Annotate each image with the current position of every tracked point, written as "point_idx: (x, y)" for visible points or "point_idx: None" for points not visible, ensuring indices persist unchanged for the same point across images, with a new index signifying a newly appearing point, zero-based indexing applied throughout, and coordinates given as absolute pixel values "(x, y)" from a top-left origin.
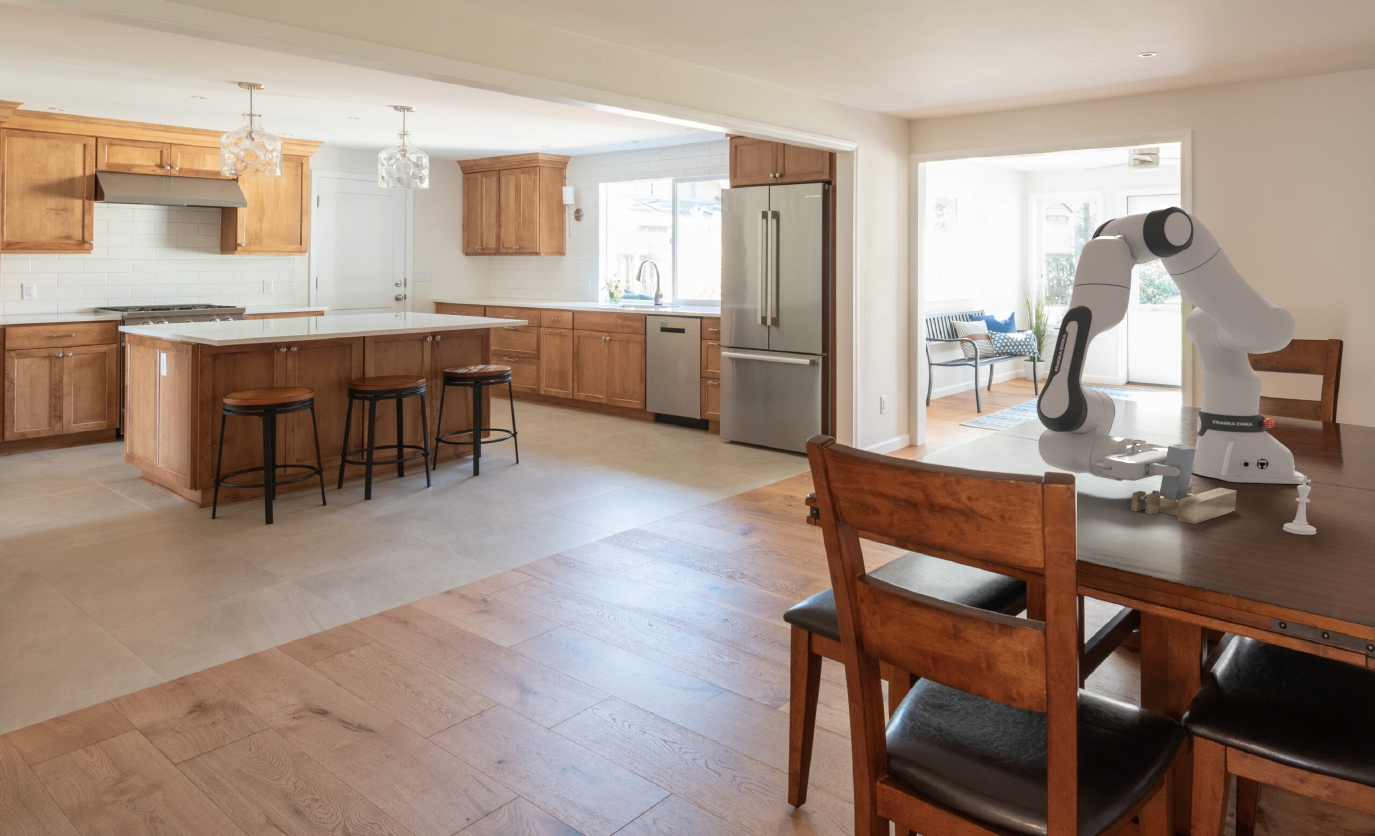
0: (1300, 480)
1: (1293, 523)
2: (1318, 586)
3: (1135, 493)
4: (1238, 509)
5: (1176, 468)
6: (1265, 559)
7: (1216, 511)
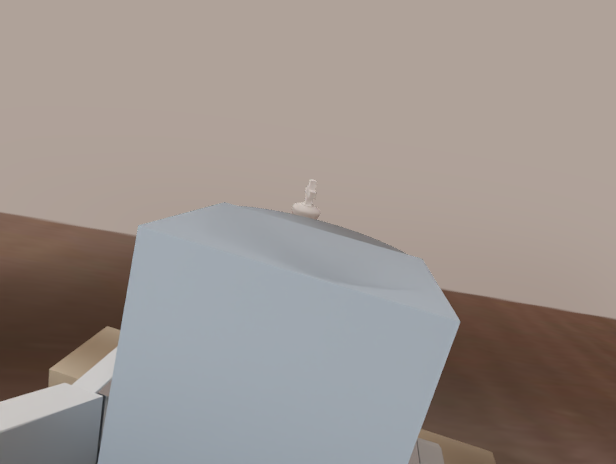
0: (315, 195)
1: None
2: (596, 336)
3: None
4: None
5: (436, 445)
6: (566, 373)
7: None
